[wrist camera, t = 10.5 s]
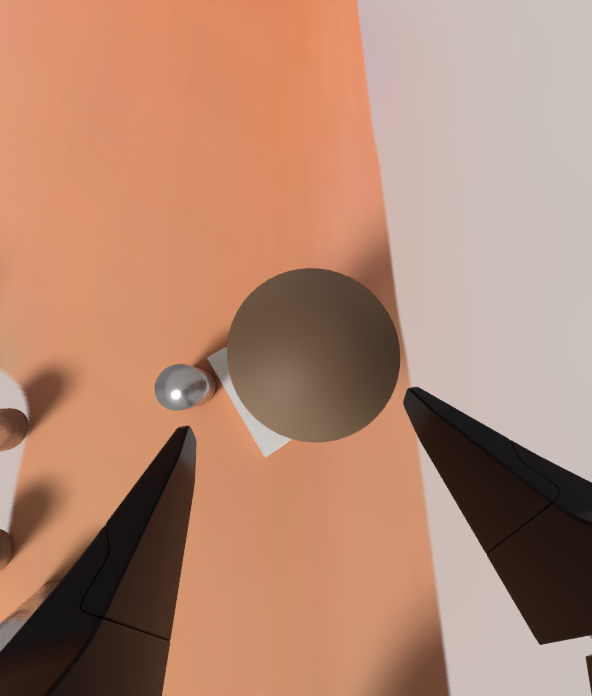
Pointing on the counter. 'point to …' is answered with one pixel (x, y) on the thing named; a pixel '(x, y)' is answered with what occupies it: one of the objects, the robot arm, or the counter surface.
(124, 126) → the counter surface
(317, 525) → the counter surface
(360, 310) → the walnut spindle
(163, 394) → the spacer posts
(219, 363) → the rubber mat
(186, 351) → the counter surface
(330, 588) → the counter surface
